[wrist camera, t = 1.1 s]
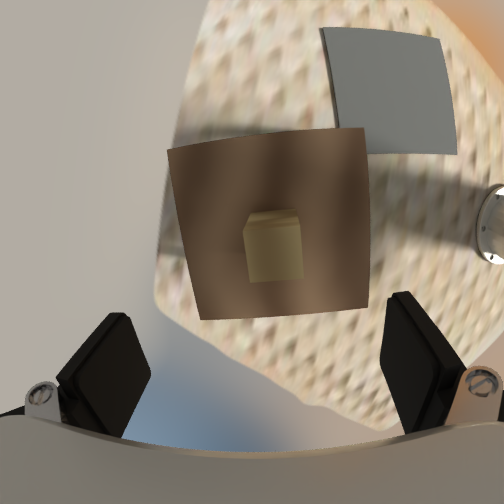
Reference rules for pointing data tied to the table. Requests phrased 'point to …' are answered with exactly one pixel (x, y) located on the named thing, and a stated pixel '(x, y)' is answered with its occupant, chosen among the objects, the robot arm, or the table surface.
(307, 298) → the cover
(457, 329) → the table surface
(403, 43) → the mat
